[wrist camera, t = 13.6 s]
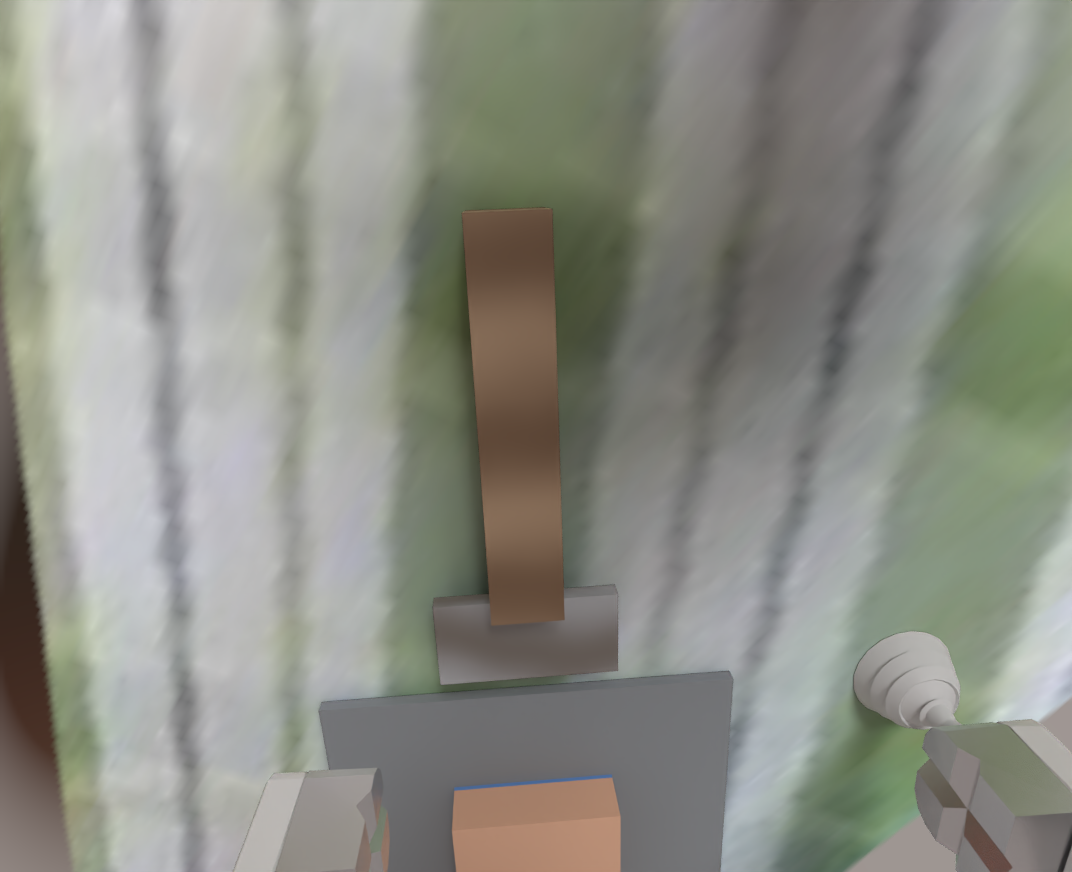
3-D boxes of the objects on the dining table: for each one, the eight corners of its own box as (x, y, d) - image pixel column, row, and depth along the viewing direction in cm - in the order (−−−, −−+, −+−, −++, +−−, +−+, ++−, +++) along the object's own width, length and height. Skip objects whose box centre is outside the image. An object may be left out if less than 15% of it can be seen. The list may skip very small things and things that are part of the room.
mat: (321, 702, 33) (318, 710, 33) (729, 670, 34) (733, 678, 33) (367, 959, 39) (365, 970, 38) (712, 926, 40) (715, 936, 39)
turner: (399, 213, 26) (385, 216, 22) (606, 204, 27) (627, 205, 23) (443, 651, 33) (438, 710, 29) (608, 638, 33) (624, 695, 30)
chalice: (896, 750, 36) (1250, 1231, 20) (805, 693, 35) (1106, 1164, 18) (998, 654, 35) (1483, 1088, 18) (908, 588, 33) (1349, 999, 16)
